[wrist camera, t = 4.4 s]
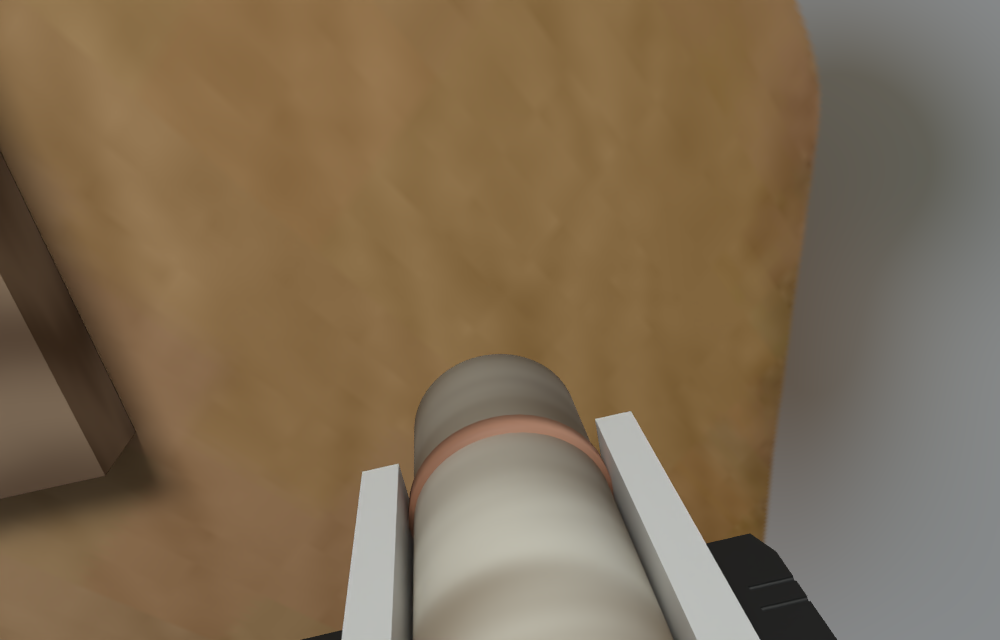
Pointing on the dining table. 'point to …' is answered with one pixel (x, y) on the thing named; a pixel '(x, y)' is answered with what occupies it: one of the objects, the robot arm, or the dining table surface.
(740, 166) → the dining table surface
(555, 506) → the peg
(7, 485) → the board
